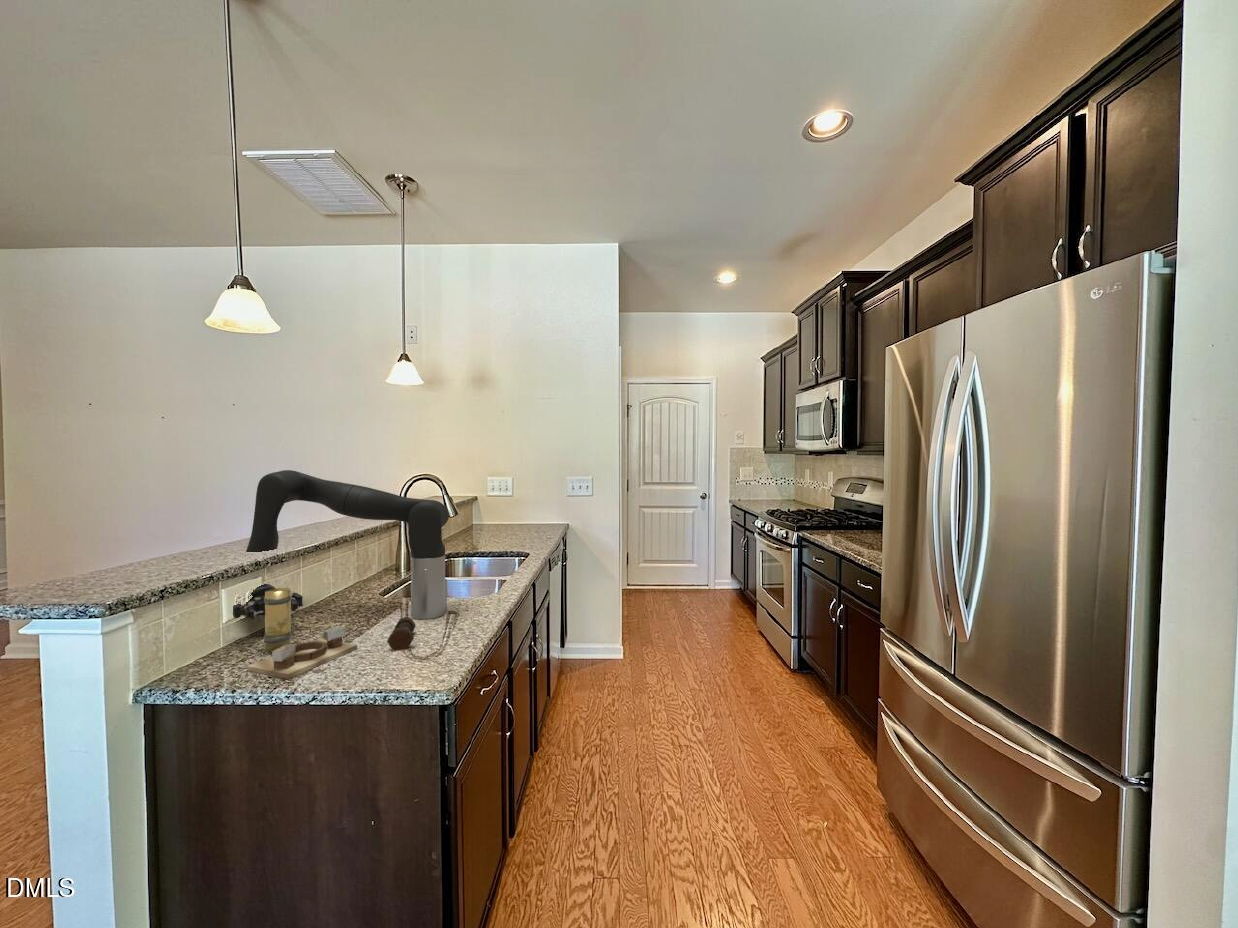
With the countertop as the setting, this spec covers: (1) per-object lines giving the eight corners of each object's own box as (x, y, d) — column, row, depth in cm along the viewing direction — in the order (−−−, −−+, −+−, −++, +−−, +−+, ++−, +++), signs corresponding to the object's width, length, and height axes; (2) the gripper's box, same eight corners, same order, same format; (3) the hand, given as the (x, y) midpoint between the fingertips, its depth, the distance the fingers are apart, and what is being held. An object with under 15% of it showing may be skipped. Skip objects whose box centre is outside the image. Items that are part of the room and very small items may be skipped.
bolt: (409, 635, 129) (403, 655, 115) (391, 628, 128) (383, 647, 113) (421, 615, 130) (416, 633, 116) (403, 608, 129) (396, 624, 114)
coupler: (281, 643, 118) (281, 586, 118) (297, 646, 116) (297, 588, 116) (258, 651, 113) (258, 592, 113) (274, 654, 111) (274, 594, 111)
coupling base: (320, 642, 119) (320, 630, 119) (357, 648, 115) (357, 636, 115) (247, 670, 103) (247, 656, 103) (287, 679, 99) (287, 664, 99)
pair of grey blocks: (338, 633, 117) (338, 625, 117) (347, 635, 116) (347, 626, 116) (268, 660, 101) (268, 650, 101) (278, 662, 100) (278, 652, 100)
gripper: (227, 588, 124) (237, 601, 113) (292, 579, 134) (307, 590, 123) (227, 617, 124) (237, 633, 113) (292, 605, 134) (307, 619, 123)
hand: (273, 610), depth 118 cm, fingers open, 8 cm apart
